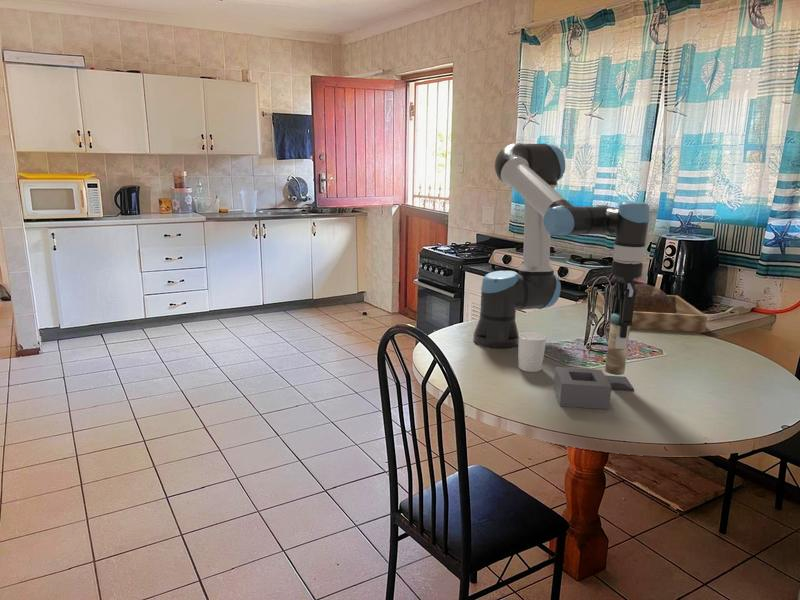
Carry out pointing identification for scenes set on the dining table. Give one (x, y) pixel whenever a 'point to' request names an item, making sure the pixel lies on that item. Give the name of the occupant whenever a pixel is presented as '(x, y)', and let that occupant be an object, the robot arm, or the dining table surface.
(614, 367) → the plug
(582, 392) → the socket
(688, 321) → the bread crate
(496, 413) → the dining table surface
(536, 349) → the white cup
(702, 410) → the dining table surface
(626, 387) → the mat
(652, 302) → the bread
